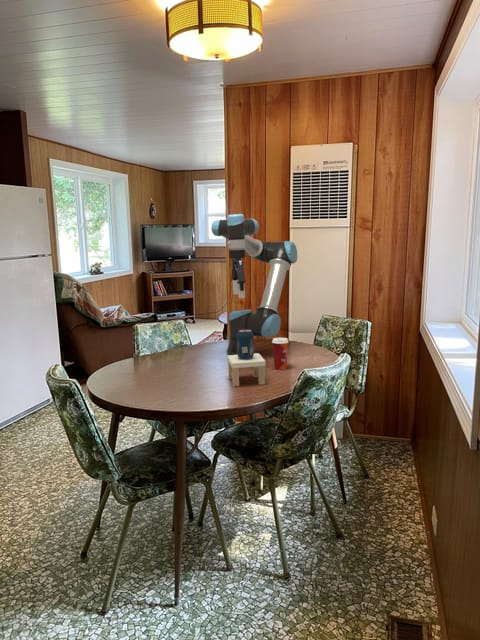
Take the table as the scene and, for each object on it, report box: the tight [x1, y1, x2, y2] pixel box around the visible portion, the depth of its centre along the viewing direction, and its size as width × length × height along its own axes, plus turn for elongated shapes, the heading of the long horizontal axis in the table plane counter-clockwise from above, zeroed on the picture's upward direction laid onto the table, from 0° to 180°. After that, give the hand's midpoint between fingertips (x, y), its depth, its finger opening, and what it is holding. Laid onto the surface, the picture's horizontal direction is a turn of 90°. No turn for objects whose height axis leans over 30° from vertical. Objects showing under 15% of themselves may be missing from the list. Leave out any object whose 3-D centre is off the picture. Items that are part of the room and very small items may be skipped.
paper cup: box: [271, 337, 289, 371], centre depth 221 cm, size 8×8×14 cm
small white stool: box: [226, 352, 266, 388], centre depth 204 cm, size 14×14×10 cm
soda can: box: [237, 329, 255, 360], centre depth 202 cm, size 7×7×12 cm
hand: (238, 296), depth 219 cm, fingers open, 13 cm apart
